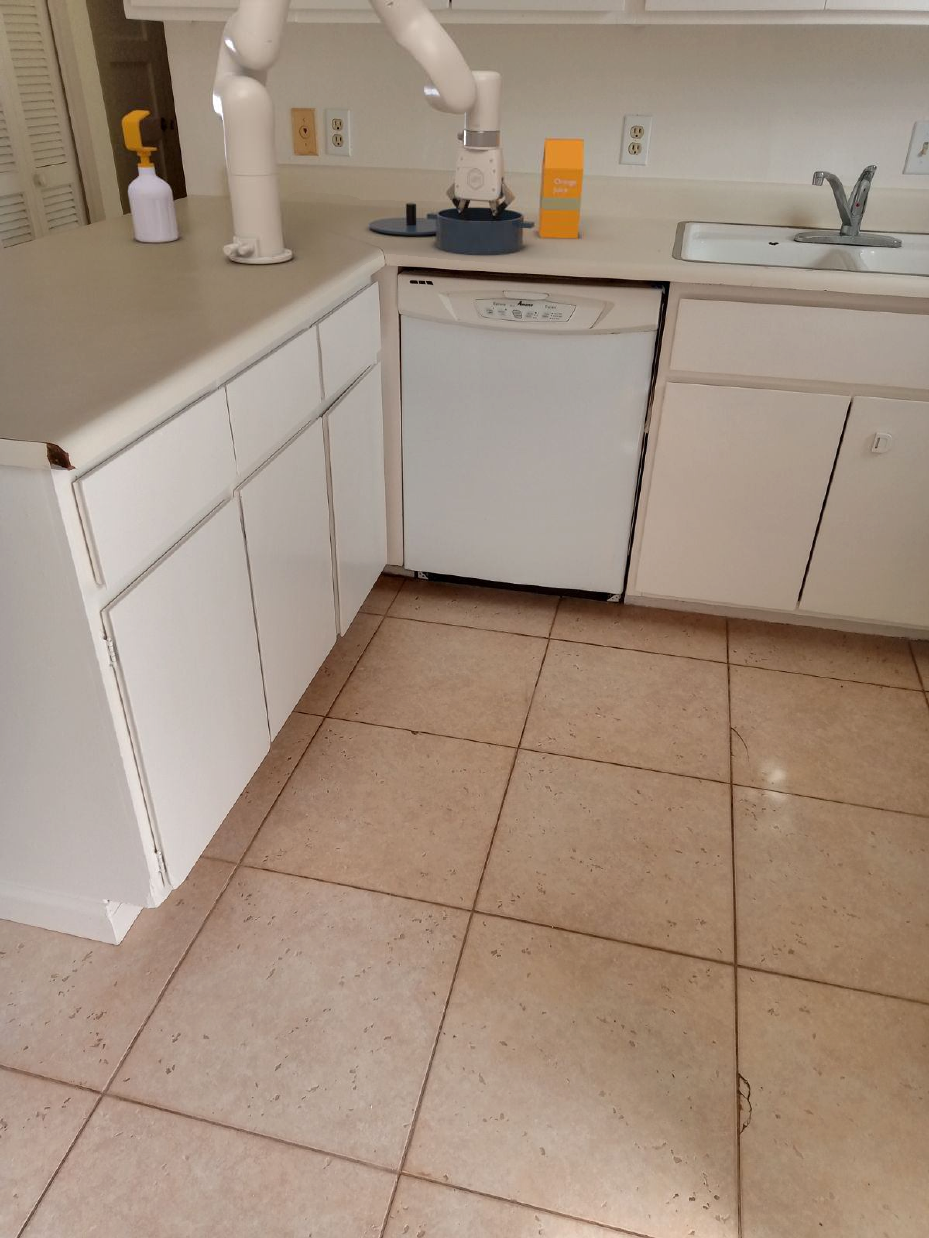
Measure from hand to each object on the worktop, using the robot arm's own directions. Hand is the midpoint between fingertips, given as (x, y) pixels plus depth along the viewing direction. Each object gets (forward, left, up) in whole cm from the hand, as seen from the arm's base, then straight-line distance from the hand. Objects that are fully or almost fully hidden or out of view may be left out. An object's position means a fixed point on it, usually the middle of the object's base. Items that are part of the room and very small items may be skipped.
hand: (479, 232), depth 194 cm
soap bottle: (-28, +65, -3) cm, 71 cm away
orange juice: (+22, -11, -3) cm, 25 cm away
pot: (0, 0, -3) cm, 3 cm away
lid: (+11, +22, -2) cm, 25 cm away
